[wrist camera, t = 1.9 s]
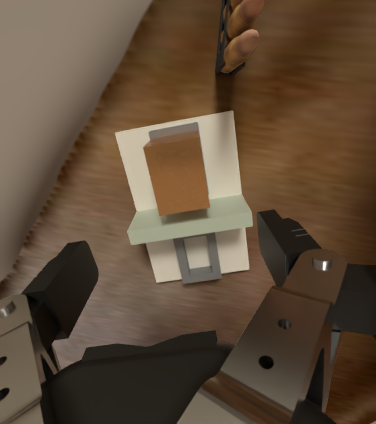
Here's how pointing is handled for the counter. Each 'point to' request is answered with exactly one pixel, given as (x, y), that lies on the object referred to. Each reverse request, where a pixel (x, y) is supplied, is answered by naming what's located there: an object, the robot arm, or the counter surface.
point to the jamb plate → (196, 219)
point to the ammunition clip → (237, 34)
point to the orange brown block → (177, 172)
